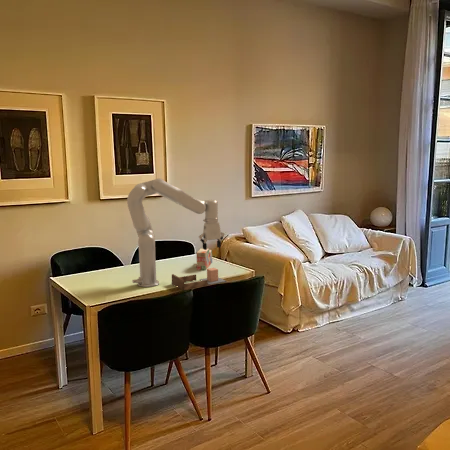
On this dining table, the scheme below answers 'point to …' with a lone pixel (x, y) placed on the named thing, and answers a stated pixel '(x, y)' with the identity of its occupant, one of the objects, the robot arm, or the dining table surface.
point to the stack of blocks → (204, 259)
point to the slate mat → (214, 281)
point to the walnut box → (180, 283)
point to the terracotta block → (212, 274)
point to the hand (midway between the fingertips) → (211, 248)
